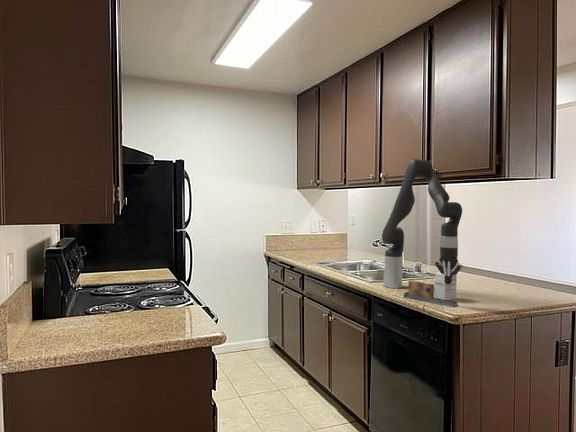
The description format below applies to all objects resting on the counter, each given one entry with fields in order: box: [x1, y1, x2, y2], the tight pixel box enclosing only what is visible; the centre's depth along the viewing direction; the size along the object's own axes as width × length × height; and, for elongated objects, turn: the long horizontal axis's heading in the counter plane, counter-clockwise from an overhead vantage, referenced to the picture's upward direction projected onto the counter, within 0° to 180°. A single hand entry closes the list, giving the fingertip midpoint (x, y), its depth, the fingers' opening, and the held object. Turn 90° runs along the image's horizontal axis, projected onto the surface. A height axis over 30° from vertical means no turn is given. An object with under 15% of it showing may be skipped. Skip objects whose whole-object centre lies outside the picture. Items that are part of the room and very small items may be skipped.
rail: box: [403, 290, 459, 308], centre depth 202 cm, size 26×4×2 cm, turn 40°
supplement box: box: [434, 271, 458, 301], centre depth 208 cm, size 7×7×13 cm
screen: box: [408, 280, 435, 299], centre depth 205 cm, size 13×2×7 cm, turn 40°
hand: (448, 283), depth 195 cm, fingers closed
